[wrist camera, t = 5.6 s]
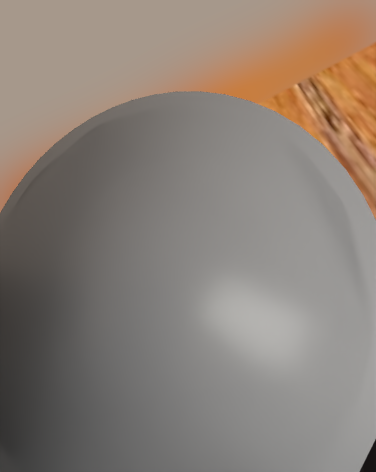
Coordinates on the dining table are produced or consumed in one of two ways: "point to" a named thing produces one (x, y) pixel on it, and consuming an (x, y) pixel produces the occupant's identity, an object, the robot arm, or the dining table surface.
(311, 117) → the dining table surface
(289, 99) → the dining table surface
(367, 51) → the dining table surface
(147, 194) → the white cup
